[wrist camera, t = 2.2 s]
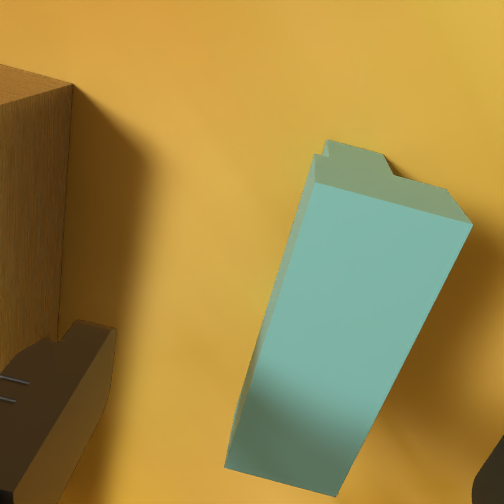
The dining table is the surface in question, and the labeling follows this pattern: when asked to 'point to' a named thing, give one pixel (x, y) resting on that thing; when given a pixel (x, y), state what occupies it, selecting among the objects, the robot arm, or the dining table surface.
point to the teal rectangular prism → (341, 316)
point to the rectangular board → (31, 206)
